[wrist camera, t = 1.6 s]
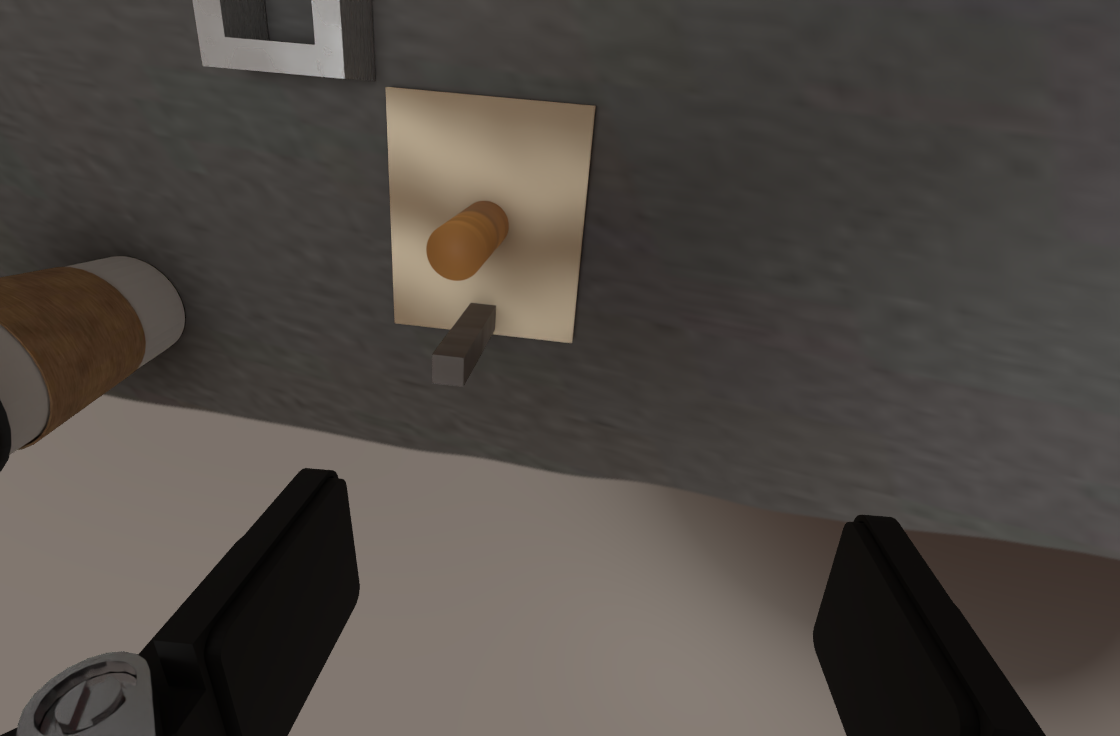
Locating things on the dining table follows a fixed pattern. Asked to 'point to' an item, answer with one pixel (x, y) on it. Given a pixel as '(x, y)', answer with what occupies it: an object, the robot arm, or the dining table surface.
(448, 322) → the keeper
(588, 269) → the dining table surface
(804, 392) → the dining table surface
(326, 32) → the link
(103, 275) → the coffee cup
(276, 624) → the robot arm
